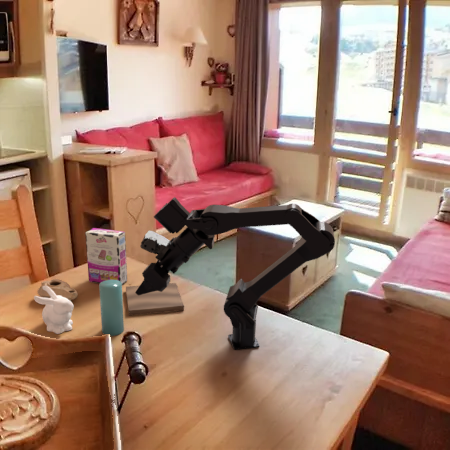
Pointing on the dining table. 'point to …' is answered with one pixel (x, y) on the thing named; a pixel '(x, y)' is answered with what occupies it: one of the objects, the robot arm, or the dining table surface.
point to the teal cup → (111, 307)
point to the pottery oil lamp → (58, 289)
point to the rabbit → (56, 311)
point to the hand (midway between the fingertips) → (142, 285)
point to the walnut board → (154, 300)
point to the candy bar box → (106, 255)
